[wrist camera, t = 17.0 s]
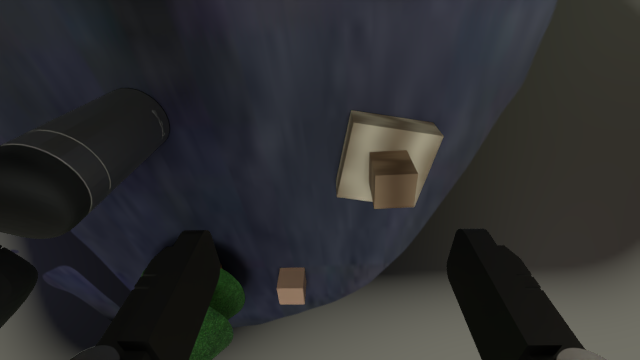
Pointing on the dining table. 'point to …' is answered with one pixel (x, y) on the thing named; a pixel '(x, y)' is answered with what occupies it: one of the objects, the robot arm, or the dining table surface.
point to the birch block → (383, 149)
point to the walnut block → (392, 179)
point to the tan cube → (291, 286)
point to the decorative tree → (218, 318)
